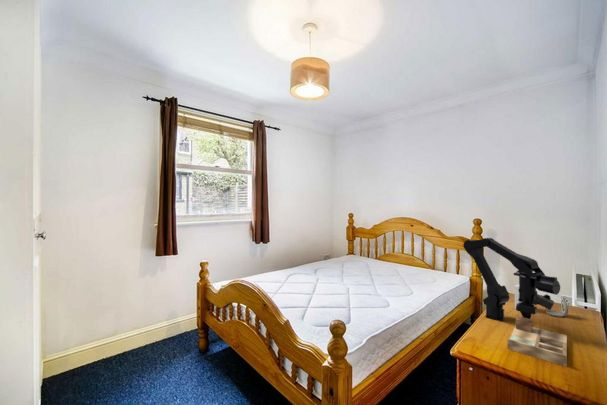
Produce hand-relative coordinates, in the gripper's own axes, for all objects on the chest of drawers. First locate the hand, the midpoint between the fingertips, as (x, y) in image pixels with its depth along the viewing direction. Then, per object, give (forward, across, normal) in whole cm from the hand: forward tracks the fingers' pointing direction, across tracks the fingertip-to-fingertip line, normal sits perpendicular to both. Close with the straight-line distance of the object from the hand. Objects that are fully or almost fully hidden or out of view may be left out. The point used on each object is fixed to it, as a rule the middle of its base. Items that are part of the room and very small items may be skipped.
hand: (527, 323), depth 117 cm
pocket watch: (+3, +31, -9) cm, 33 cm away
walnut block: (+1, -6, +1) cm, 6 cm away
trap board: (+3, -13, -4) cm, 14 cm away
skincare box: (+3, +29, +5) cm, 30 cm away
